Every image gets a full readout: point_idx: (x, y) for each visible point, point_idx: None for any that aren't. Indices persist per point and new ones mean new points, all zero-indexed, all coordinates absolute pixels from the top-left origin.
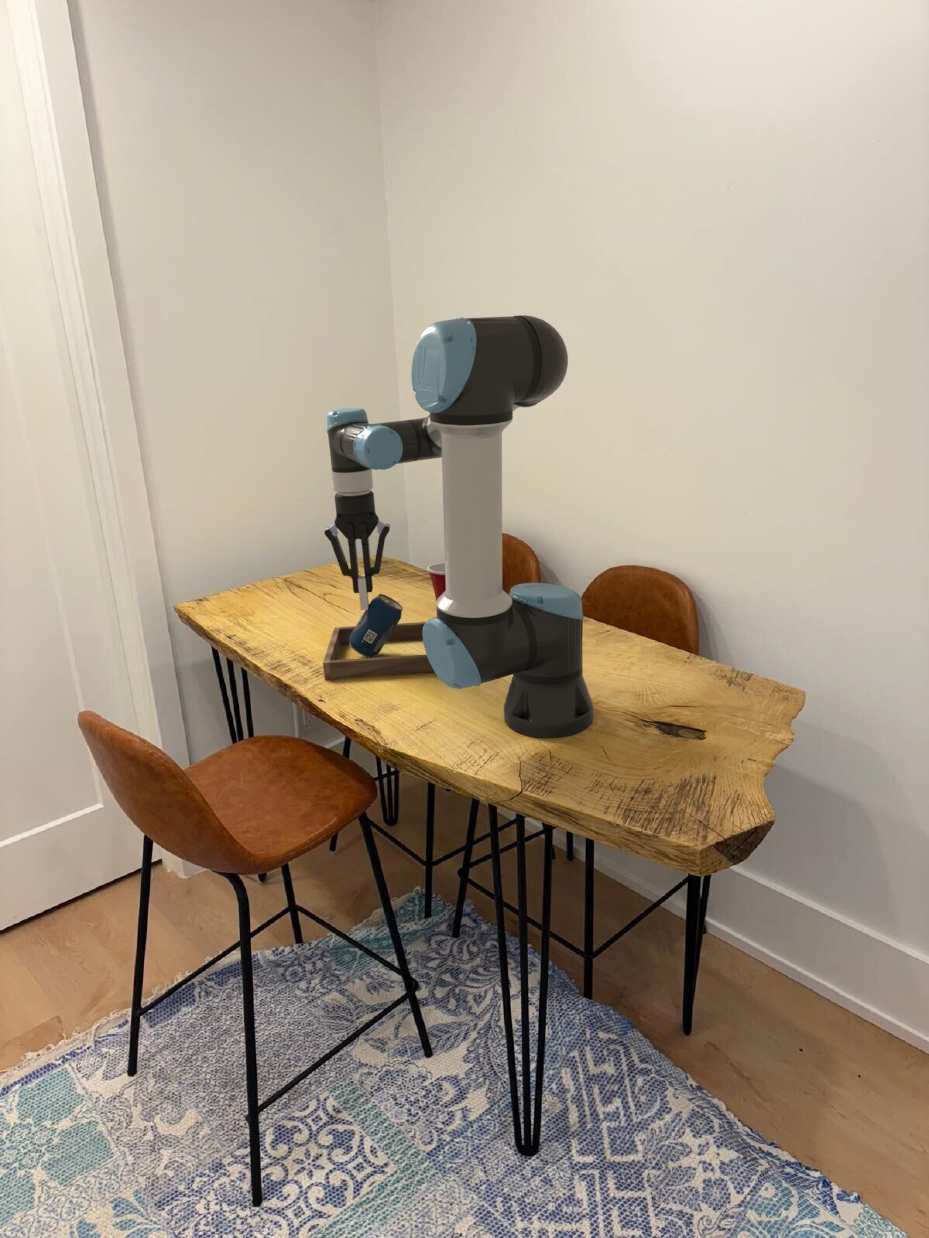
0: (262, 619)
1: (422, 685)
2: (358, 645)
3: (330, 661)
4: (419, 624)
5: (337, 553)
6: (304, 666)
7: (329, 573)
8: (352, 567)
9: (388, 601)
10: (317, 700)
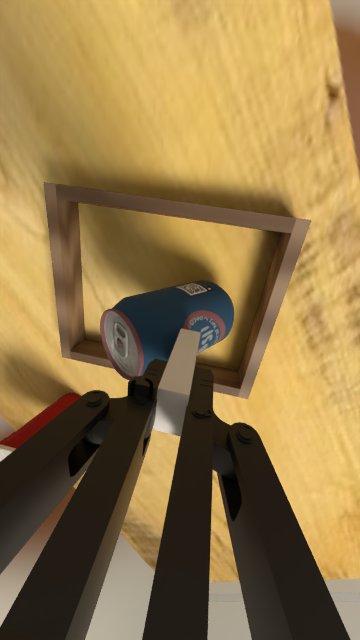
0: (335, 495)
1: (115, 132)
2: (218, 288)
3: (291, 225)
4: (106, 359)
5: (319, 621)
6: (319, 302)
7: (218, 568)
8: (203, 452)
9: (123, 348)
10: (341, 97)
